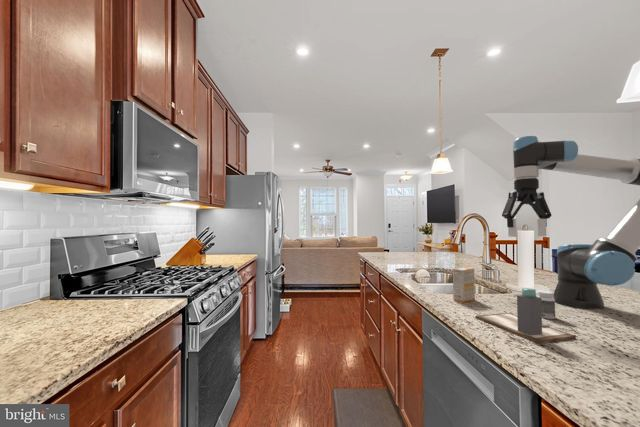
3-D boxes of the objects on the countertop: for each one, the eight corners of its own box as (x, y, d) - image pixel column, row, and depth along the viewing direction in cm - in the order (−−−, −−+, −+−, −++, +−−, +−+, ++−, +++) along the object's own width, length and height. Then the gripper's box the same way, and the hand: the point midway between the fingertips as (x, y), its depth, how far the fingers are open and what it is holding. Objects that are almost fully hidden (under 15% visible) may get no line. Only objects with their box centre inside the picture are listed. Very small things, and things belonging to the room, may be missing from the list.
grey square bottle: (528, 329, 87) (527, 287, 87) (542, 334, 83) (541, 290, 83) (517, 330, 86) (516, 288, 86) (530, 335, 82) (529, 291, 82)
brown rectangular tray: (507, 315, 103) (507, 310, 103) (575, 338, 82) (575, 333, 82) (475, 318, 100) (475, 313, 100) (538, 343, 79) (538, 338, 79)
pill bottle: (558, 319, 98) (557, 293, 99) (542, 318, 99) (541, 293, 100) (550, 315, 103) (549, 290, 103) (535, 314, 104) (534, 290, 104)
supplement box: (464, 297, 128) (463, 266, 128) (475, 300, 124) (474, 268, 124) (452, 300, 124) (452, 268, 124) (463, 302, 119) (462, 269, 120)
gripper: (542, 181, 118) (544, 235, 117) (490, 179, 112) (491, 236, 111) (562, 178, 110) (564, 236, 110) (507, 176, 104) (508, 237, 104)
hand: (527, 236), depth 110 cm, fingers open, 13 cm apart
